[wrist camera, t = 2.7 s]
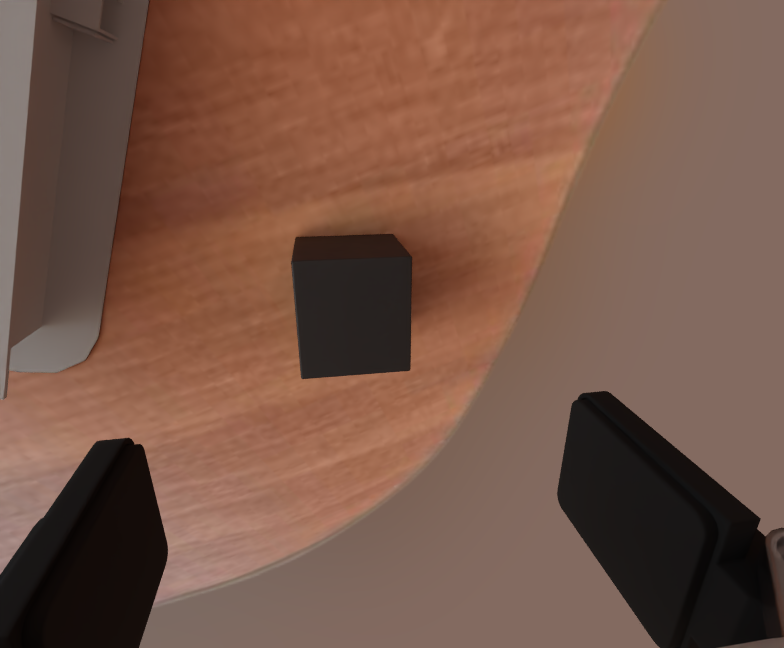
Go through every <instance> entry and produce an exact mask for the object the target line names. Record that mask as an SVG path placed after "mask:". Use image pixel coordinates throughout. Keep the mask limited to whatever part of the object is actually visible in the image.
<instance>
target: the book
mask: <svg viewBox="0 0 784 648" xmlns="http://www.w3.org/2000/svg"><path fill="white" fill-rule="evenodd" d="M148 5H149V0H0V399H3V400H4V399H5V398H6V397H7V388H8V376H9V370H11V371H16V372H41V373H57V372H59V371H62V370H64V369H66V368H68V367H71V366H73V365H75V364H78V363H80V362H82V361H84V360H86V358H87V356H88V354H89V353H90V351H91V349H92V348H93V346H94V344H95V342H96V341H97V339H98V337H99V331H100V324H101V317H102V311H103V304H104V297H105V291H106V284H107V277H108V271H109V264H110V257H111V251H112V244H113V237H114V231H115V224H116V218H117V211H118V204H119V198H120V191H121V184H122V178H123V171H124V164H125V158H126V151H127V144H128V138H129V131H130V124H131V118H132V111H133V104H134V98H135V91H136V84H137V78H138V71H139V64H140V58H141V51H142V45H143V38H144V31H145V25H146V18H147V11H148Z"/></svg>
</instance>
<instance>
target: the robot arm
mask: <svg viewBox="0 0 784 648" xmlns="http://www.w3.org/2000/svg"><path fill="white" fill-rule="evenodd" d="M557 495H558V501H559V504H560V506H561V508H562V510H563V511H564V512H565V514H566V515H567V517H568V518H569V520H570V521H571V522H572V524H573V525H574V527H575V528H576V530H577V531H578V533H579V534H580V536H581V537H582V538H583V540H584V541H585V543H586V544H587V546H588V547H589V548H590V550H591V551H592V553H593V554H594V556H595V557H596V559H597V560H598V561H599V563H600V564H601V566H602V567H603V569H604V570H605V572H606V573H607V574H608V576H609V577H610V579H611V580H612V582H613V583H614V584H615V586H616V587H617V589H618V590H619V592H620V593H621V594H622V596H623V598H624V599H625V600H626V602H627V603H628V605H629V606H630V608H631V609H632V611H633V612H634V613H635V615H636V616H637V618H638V619H639V621H640V622H641V624H642V625H643V626H644V628H645V629H646V631H647V632H648V634H649V635H650V636H651V638H652V639H653V641H654V642H655V643H656V644H657V645H658V646H659V647H660V648H784V528H779V529H776V530H772V531H771V532H770V533H769V534H768V535H767V536H764V535H763V534H762V533H761V532H760V531H759V530H757V527H758V524H759V522H760V518H759V517H758V516H757V515H755V514H754V513H753V512H752V511H751V510H749V509H748V508H747V507H746V506H745V505H743V504H742V503H741V502H740V501H739V500H737V499H736V498H735V497H734V496H733V495H732V494H730V493H729V492H728V491H727V490H726V489H724V488H723V487H722V486H721V485H719V484H718V483H717V482H716V481H715V480H714V479H712V478H711V477H710V476H709V475H708V474H706V473H705V472H704V471H703V470H702V469H700V468H699V467H698V466H697V465H696V464H694V463H693V462H692V461H691V460H690V459H688V458H687V457H686V456H685V455H684V454H683V453H681V452H680V451H679V450H678V449H677V448H675V447H674V446H673V445H672V444H671V443H669V442H668V441H667V440H666V439H664V438H663V437H662V436H661V435H660V434H659V433H657V432H656V431H655V430H654V429H653V428H651V427H650V426H649V425H648V424H647V423H645V422H644V421H643V420H642V419H641V418H639V417H638V416H637V415H636V414H635V413H633V412H632V411H631V410H630V409H629V408H627V407H626V406H625V405H624V404H623V403H621V402H620V401H619V400H618V399H617V398H616V397H614V396H613V395H612V394H611V393H609V392H607V391H601V392H591V393H583V394H581V395H580V396H579V397H578V400H576V401H574V402H573V403H572V407H571V413H570V419H569V425H568V431H567V437H566V443H565V449H564V455H563V461H562V467H561V473H560V479H559V485H558V492H557ZM167 556H168V546H167V540H166V536H165V532H164V528H163V524H162V520H161V516H160V512H159V508H158V504H157V500H156V496H155V492H154V487H153V483H152V479H151V475H150V471H149V467H148V463H147V459H146V455H145V451H144V448H143V446H142V445H141V444H136V445H134V442H133V441H132V439H130V438H123V439H112V440H102V441H97V442H96V443H95V444H94V445H93V447H92V448H91V449H90V451H89V452H88V454H87V455H86V457H85V458H84V460H83V461H82V463H81V464H80V465H79V467H78V468H77V470H76V471H75V473H74V474H73V476H72V477H71V479H70V480H69V481H68V483H67V484H66V486H65V487H64V489H63V490H62V492H61V493H60V495H59V496H58V497H57V499H56V500H55V502H54V503H53V505H52V506H51V508H50V509H49V511H48V512H47V513H46V515H45V516H44V518H42V519H40V520H39V521H38V523H37V524H36V525H35V526H34V527H33V529H32V530H31V532H30V533H29V534H28V536H27V537H26V539H25V540H24V542H23V543H22V544H21V546H20V547H19V549H18V550H17V552H16V553H15V554H14V556H13V557H12V559H11V560H10V562H9V563H8V565H7V566H6V567H5V569H4V570H3V572H2V573H1V575H0V648H139V645H140V642H141V639H142V636H143V633H144V630H145V627H146V624H147V621H148V618H149V614H150V612H151V609H152V605H153V602H154V599H155V596H156V593H157V590H158V587H159V584H160V581H161V578H162V575H163V572H164V569H165V566H166V562H167Z"/></svg>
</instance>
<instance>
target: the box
mask: <svg viewBox="0 0 784 648" xmlns="http://www.w3.org/2000/svg"><path fill="white" fill-rule="evenodd" d="M291 265H292V276H293V288H294V300H295V311H296V323H297V335H298V346H299V358H300V370H301V378H302V379H309V378H322V377H335V376H348V375H361V374H373V373H386V372H399V371H410V362H411V291H412V256H411V255H410V254H409V253H408V252H407V250H406V249H405V248H404V247H403V246H402V244H401V243H400V242H399V241H398V240H397V238H396V237H395V236H394V235H393V234H377V235H347V236H317V237H296V238H295V244H294V250H293V255H292V261H291Z"/></svg>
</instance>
